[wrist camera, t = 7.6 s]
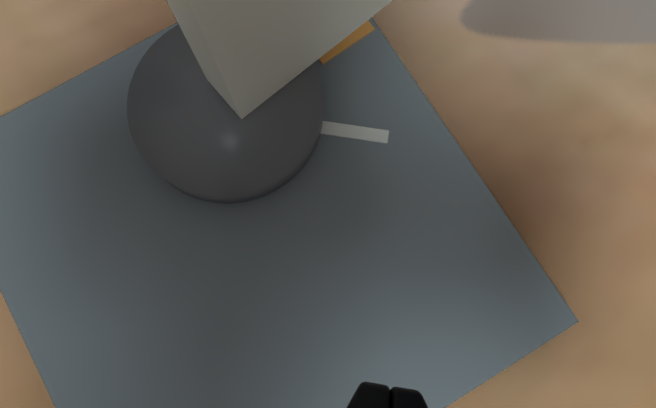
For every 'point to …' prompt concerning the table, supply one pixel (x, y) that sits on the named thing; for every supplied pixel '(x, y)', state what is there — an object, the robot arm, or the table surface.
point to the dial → (237, 92)
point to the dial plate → (263, 255)
